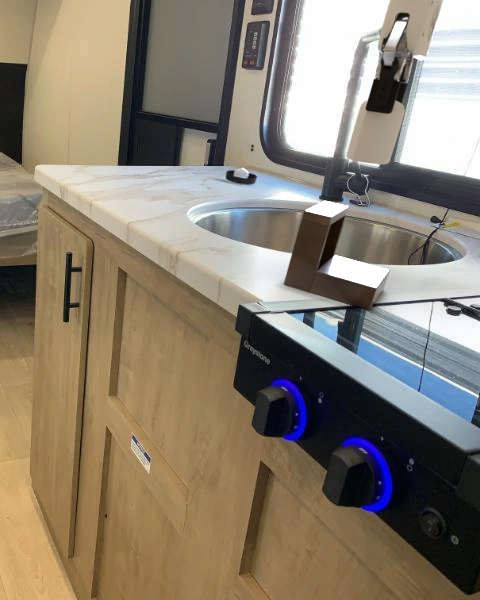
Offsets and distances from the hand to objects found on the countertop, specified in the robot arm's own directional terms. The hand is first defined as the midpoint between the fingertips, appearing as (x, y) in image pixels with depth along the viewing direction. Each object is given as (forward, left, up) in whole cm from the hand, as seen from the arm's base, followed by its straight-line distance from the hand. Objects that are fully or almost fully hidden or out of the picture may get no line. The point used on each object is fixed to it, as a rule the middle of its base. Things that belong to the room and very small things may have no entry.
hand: (382, 110), depth 80 cm
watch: (+36, -58, -23) cm, 72 cm away
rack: (-2, +8, -23) cm, 24 cm away
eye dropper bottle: (0, 0, -7) cm, 7 cm away
